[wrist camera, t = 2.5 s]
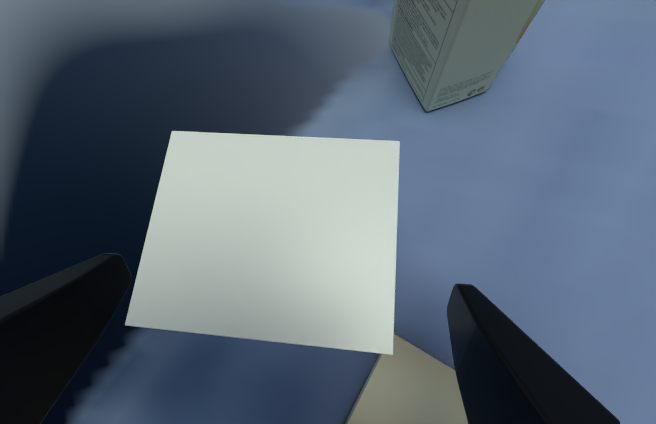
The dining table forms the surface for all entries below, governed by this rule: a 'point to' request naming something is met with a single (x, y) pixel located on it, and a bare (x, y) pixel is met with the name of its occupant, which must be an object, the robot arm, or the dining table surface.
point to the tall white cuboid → (273, 241)
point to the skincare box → (456, 44)
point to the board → (409, 390)
